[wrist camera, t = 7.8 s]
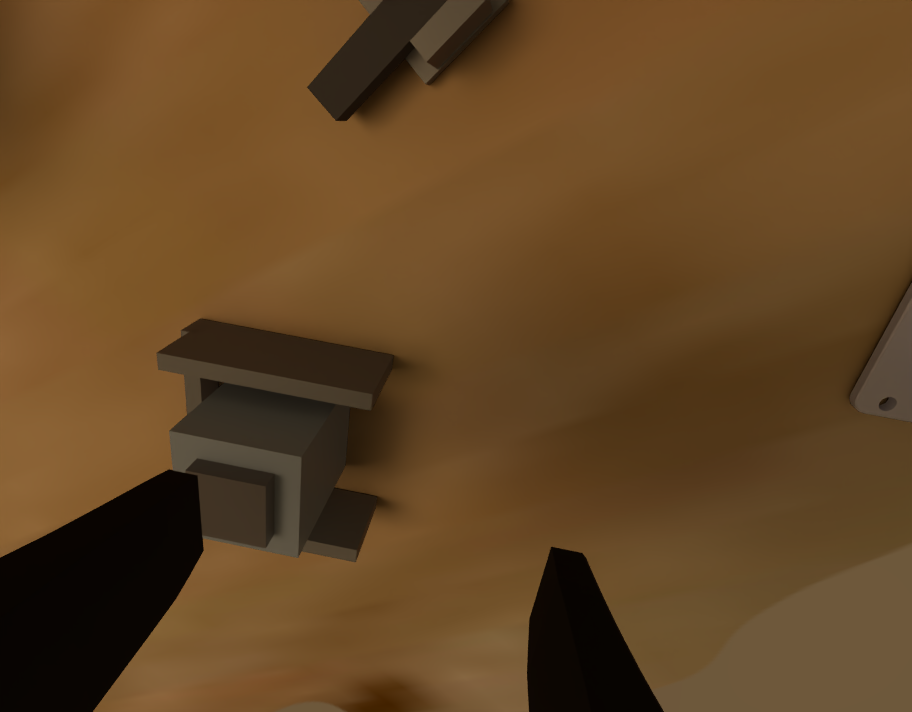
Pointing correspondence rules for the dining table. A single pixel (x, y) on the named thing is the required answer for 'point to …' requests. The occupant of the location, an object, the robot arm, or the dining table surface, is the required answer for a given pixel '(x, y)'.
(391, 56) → the cable
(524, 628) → the dining table surface
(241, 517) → the block
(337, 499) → the end holder
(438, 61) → the clip
